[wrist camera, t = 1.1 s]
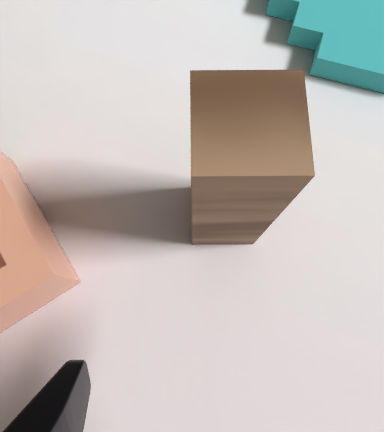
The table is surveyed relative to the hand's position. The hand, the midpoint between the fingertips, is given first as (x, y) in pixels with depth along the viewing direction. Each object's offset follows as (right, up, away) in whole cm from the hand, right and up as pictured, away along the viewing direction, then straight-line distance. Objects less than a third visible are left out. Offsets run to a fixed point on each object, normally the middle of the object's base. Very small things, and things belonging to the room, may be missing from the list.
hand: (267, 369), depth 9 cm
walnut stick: (0, +4, +15) cm, 15 cm away
